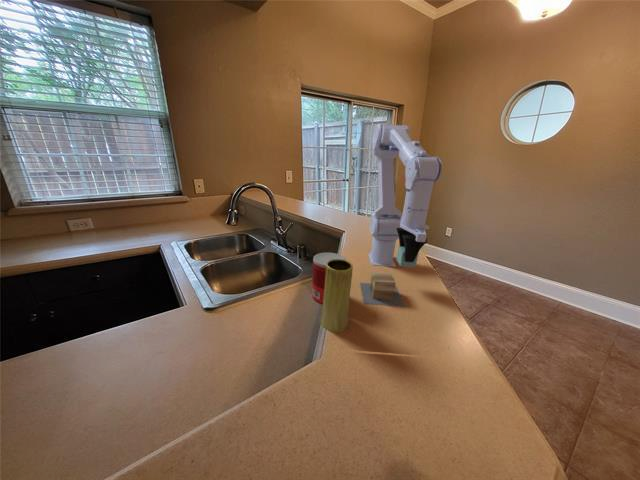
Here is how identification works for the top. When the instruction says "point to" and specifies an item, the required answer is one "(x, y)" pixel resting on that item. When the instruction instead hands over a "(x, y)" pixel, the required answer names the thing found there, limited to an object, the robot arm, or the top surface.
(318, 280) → the canned food
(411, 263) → the cube
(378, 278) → the tower mid
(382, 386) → the top surface
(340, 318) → the vase
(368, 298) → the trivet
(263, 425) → the top surface
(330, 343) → the top surface
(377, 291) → the tower base
